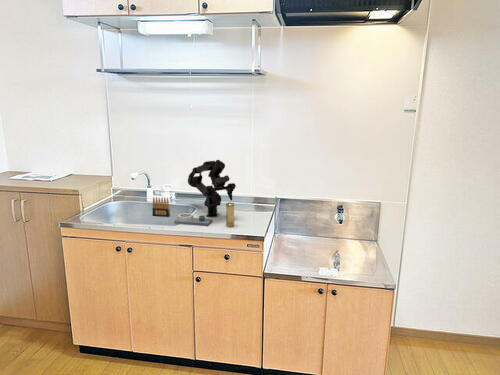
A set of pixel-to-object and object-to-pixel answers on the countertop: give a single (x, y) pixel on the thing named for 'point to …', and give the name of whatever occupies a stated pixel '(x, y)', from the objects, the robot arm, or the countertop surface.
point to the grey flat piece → (192, 220)
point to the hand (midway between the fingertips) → (224, 201)
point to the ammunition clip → (161, 208)
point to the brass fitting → (230, 214)
